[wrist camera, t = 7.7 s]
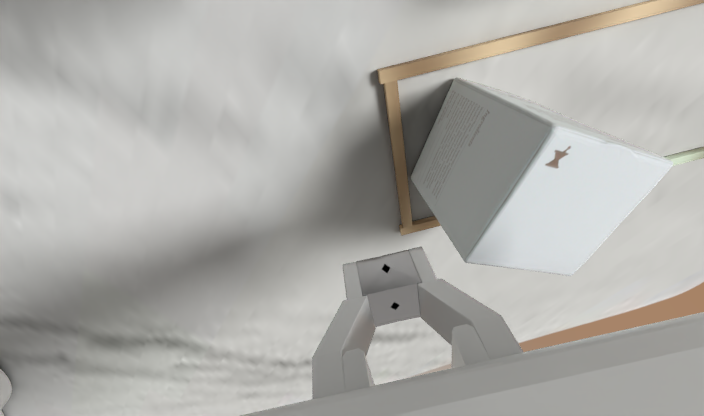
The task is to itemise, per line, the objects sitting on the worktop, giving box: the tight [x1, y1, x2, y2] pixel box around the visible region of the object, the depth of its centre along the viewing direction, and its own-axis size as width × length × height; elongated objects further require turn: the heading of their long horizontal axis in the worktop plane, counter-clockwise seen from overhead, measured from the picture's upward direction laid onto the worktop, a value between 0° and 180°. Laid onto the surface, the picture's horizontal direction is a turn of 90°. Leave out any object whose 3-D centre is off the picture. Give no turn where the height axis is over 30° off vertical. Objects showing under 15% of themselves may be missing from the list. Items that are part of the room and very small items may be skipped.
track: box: [377, 0, 704, 235], centre depth 16 cm, size 27×10×2 cm, turn 102°
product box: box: [411, 78, 673, 276], centre depth 14 cm, size 6×6×7 cm
